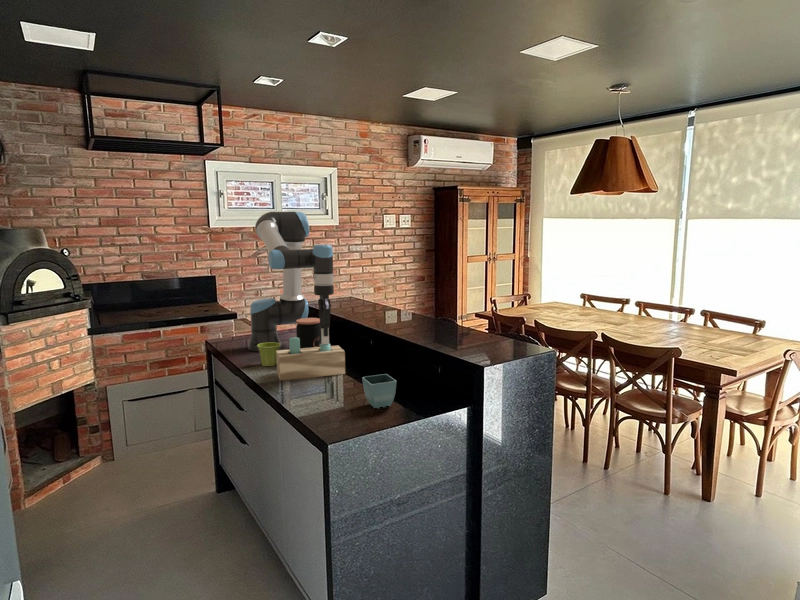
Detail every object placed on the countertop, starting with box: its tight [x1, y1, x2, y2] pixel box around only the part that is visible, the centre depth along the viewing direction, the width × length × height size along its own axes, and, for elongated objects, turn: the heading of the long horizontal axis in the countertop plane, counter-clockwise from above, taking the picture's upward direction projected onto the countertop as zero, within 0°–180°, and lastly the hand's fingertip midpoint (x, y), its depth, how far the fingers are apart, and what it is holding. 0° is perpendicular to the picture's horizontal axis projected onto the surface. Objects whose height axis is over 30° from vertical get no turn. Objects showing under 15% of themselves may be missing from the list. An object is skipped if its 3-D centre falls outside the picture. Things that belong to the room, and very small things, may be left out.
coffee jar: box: [295, 317, 322, 349], centre depth 219 cm, size 11×11×18 cm
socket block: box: [276, 345, 346, 381], centre depth 201 cm, size 11×25×9 cm, turn 110°
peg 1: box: [288, 336, 300, 354], centre depth 198 cm, size 4×4×8 cm
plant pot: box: [257, 342, 280, 367], centre depth 214 cm, size 9×9×9 cm
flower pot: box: [361, 373, 397, 409], centre depth 164 cm, size 9×9×9 cm
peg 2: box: [320, 343, 331, 352], centre depth 203 cm, size 4×4×8 cm
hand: (325, 343), depth 202 cm, fingers closed
